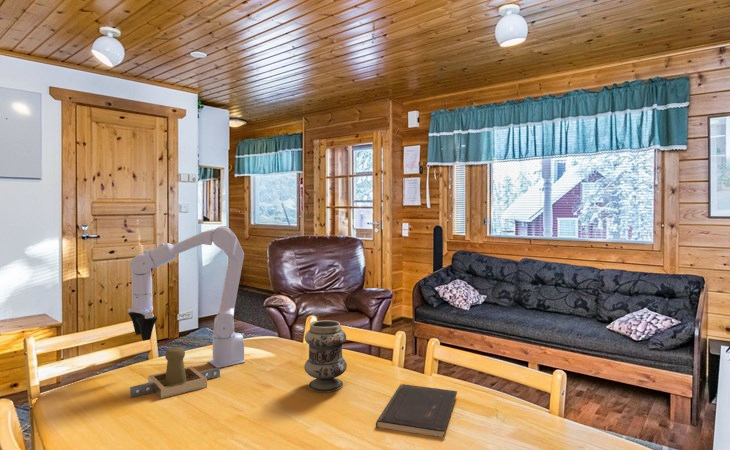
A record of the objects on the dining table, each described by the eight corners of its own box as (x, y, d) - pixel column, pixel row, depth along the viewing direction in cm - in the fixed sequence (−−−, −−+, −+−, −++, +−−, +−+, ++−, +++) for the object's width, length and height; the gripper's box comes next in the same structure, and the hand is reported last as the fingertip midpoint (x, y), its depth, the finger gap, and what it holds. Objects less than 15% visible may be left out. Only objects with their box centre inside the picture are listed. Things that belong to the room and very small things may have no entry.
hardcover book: (457, 399, 127) (457, 391, 127) (444, 440, 105) (444, 430, 105) (399, 391, 132) (399, 383, 132) (375, 429, 110) (375, 419, 110)
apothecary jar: (334, 374, 143) (334, 316, 142) (354, 388, 132) (354, 325, 132) (297, 383, 136) (297, 321, 135) (316, 397, 126) (316, 331, 125)
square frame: (211, 370, 146) (211, 362, 146) (227, 382, 137) (227, 373, 136) (125, 389, 131) (124, 380, 131) (136, 404, 121) (136, 395, 121)
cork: (180, 390, 130) (180, 351, 130) (159, 389, 131) (159, 350, 130) (190, 382, 136) (190, 345, 136) (171, 381, 137) (170, 344, 136)
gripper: (122, 291, 148) (123, 334, 148) (134, 298, 136) (135, 345, 137) (146, 288, 152) (146, 330, 153) (159, 295, 141) (160, 340, 142)
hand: (142, 337), depth 145 cm, fingers open, 7 cm apart
